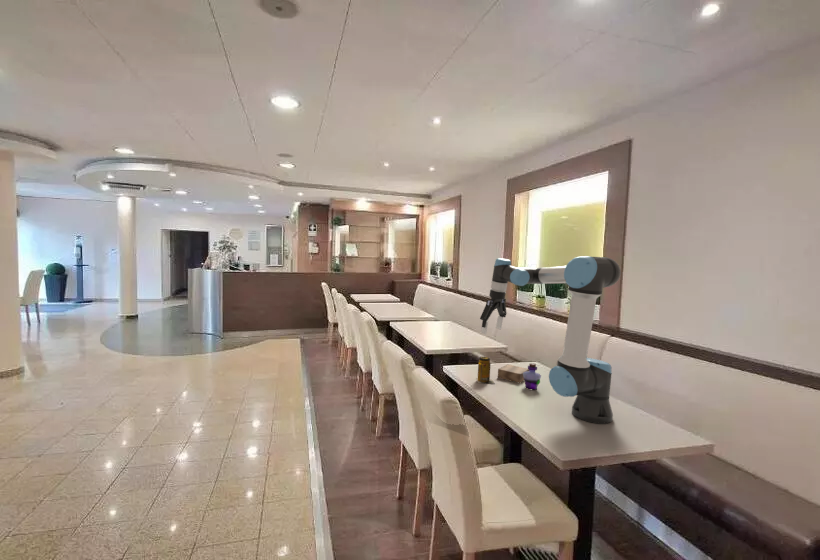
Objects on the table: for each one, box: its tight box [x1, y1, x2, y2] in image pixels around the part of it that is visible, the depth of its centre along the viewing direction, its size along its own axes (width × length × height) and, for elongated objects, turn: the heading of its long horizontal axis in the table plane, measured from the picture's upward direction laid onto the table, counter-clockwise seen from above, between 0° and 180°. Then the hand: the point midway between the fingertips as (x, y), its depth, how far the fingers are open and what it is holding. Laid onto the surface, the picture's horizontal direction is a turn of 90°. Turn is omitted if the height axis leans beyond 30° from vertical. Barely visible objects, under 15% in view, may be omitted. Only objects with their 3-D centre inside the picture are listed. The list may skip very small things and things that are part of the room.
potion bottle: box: [523, 362, 542, 391], centre depth 190 cm, size 9×9×12 cm
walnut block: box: [497, 364, 529, 384], centre depth 205 cm, size 12×12×5 cm
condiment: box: [476, 356, 495, 385], centre depth 197 cm, size 7×8×12 cm
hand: (491, 331), depth 196 cm, fingers open, 13 cm apart
